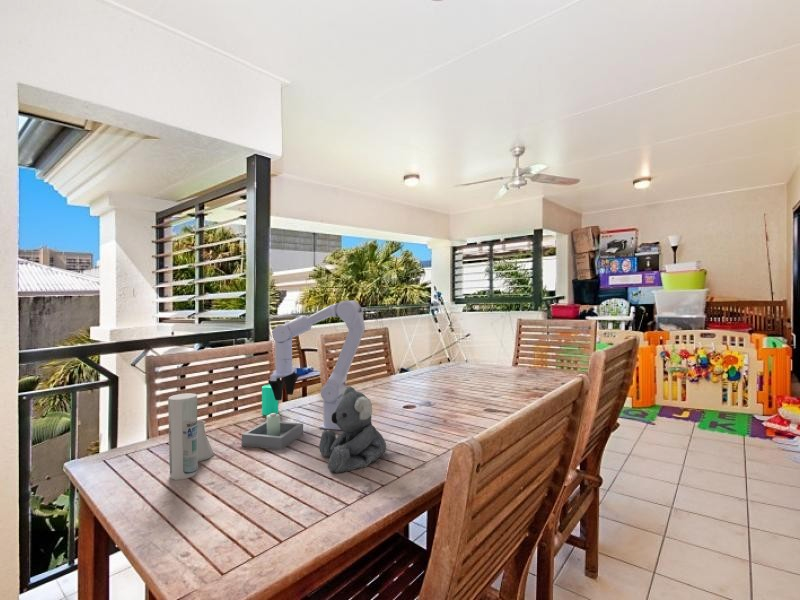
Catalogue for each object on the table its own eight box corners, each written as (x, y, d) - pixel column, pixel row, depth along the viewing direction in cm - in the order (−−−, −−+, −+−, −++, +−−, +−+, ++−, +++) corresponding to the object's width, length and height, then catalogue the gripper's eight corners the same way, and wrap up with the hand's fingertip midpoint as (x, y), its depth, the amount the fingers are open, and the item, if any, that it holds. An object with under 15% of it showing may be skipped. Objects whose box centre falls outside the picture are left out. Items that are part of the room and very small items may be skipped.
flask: (219, 454, 116) (218, 419, 116) (199, 464, 109) (198, 427, 109) (199, 451, 118) (199, 417, 118) (178, 460, 111) (178, 424, 111)
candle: (273, 415, 152) (273, 384, 152) (258, 415, 153) (258, 383, 153) (281, 411, 158) (280, 380, 157) (267, 410, 159) (266, 380, 159)
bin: (303, 434, 132) (303, 423, 132) (281, 449, 119) (281, 438, 119) (266, 431, 135) (266, 420, 135) (241, 445, 122) (241, 434, 122)
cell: (282, 436, 128) (282, 412, 128) (275, 440, 124) (275, 416, 124) (271, 434, 129) (270, 411, 129) (264, 439, 125) (264, 415, 125)
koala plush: (316, 452, 117) (316, 385, 117) (375, 442, 124) (374, 379, 124) (330, 477, 101) (330, 399, 101) (396, 464, 108) (396, 392, 108)
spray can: (178, 468, 106) (177, 393, 106) (203, 468, 106) (202, 393, 106) (163, 479, 100) (162, 399, 99) (189, 480, 100) (188, 399, 99)
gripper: (284, 355, 150) (284, 391, 150) (261, 361, 136) (262, 401, 136) (301, 356, 148) (301, 392, 149) (280, 362, 134) (280, 403, 135)
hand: (284, 397), depth 142 cm, fingers open, 7 cm apart
